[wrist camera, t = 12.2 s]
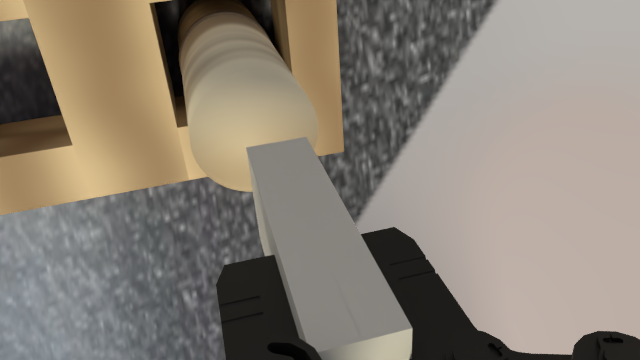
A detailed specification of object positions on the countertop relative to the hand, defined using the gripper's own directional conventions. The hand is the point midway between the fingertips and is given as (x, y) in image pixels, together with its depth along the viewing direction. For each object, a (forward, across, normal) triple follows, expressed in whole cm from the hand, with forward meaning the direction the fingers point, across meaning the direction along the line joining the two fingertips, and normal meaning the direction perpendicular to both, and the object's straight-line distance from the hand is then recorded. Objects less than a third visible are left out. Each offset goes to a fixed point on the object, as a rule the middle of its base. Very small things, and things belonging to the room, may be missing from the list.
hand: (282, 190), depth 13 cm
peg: (+16, 0, 0) cm, 16 cm away
